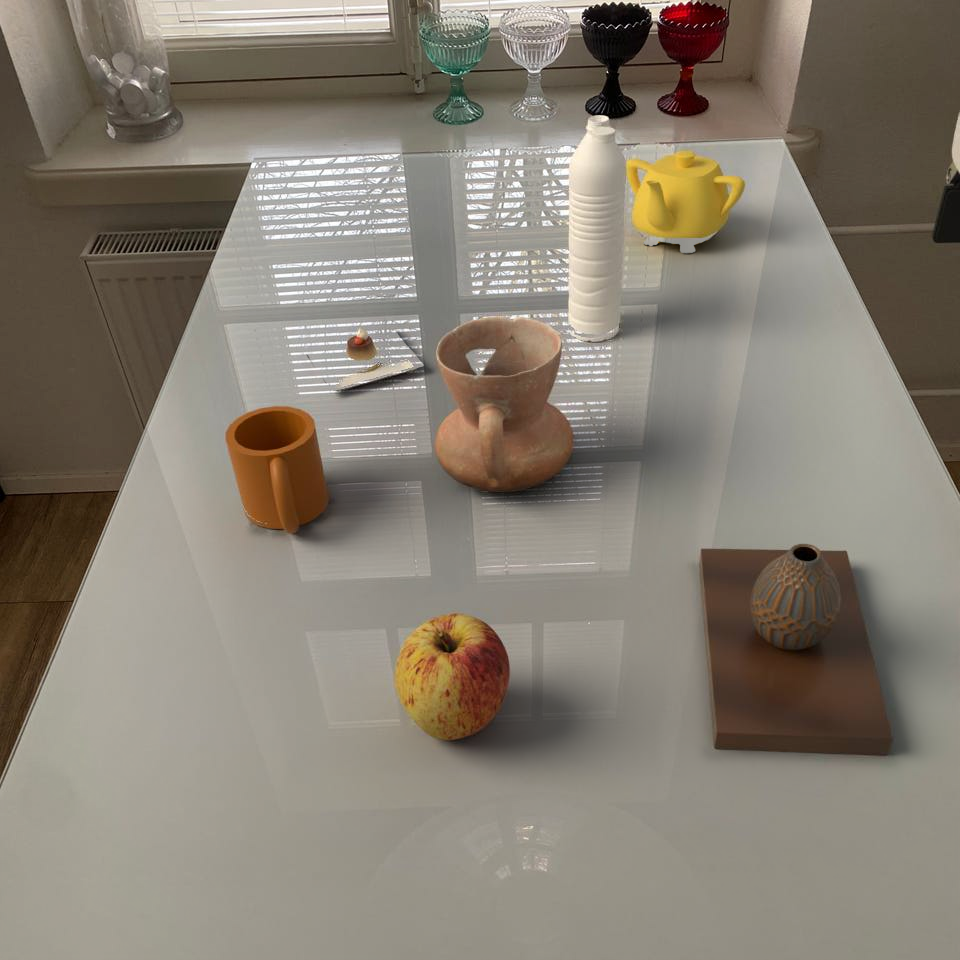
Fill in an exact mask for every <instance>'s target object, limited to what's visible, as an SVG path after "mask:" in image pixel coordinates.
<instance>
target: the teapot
mask: <svg viewBox="0 0 960 960" xmlns="http://www.w3.org/2000/svg"><path fill="white" fill-rule="evenodd" d="M720 166H721V165H720V164H719V162H717V161H715V160H713V159H711V158H708V157H704V156H699V155H696V153H695V151H693V150H690V149H689V150H687V149H683V150H679V151H677V152H674V154H669V155H665V156H663V157H661V158H659V159H657V160H656V161H655V162H654V163H650V162H648V161H645V160H643V159H639V158H630V159H628V160H627V161H626V180H627V181H628V184H629V186H630V188H631V190H632V192H633V194H634V201H633V205H632V211H631V221H632V224H633V226H634V227H636V228H635V229H636V230H637V229H638V230H639V231H641V232H643V233H646V234H648V235H652V236H656V237H662V238H703V237H707V236H709V235H711V234H713V233H715V232H716V231H718V230H719V229H720V228H721V227H722V226H723V225H724V226H725V225H726V224H727V221H728V219H729V217H730V211H731V210H732V209H733V207H735V205H736V204H737V203H738V202H739V200H740V199H741V198H742V195H743V194H744V191H745V188H746V182H745V180H744V179H743V178H742V177H740V176H737V175H724V174H723V171H722V168H721V167H720ZM639 170H642V171H645V172H646V173H645V175H644V177H643V179H642V181H641V182H640V178H639V172H638V171H639ZM728 186H730V189H731V190H730V193H729V189H728ZM724 226H723V227H724ZM723 227H722V228H723ZM722 228H721V229H722ZM721 229H720V230H721Z"/></svg>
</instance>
